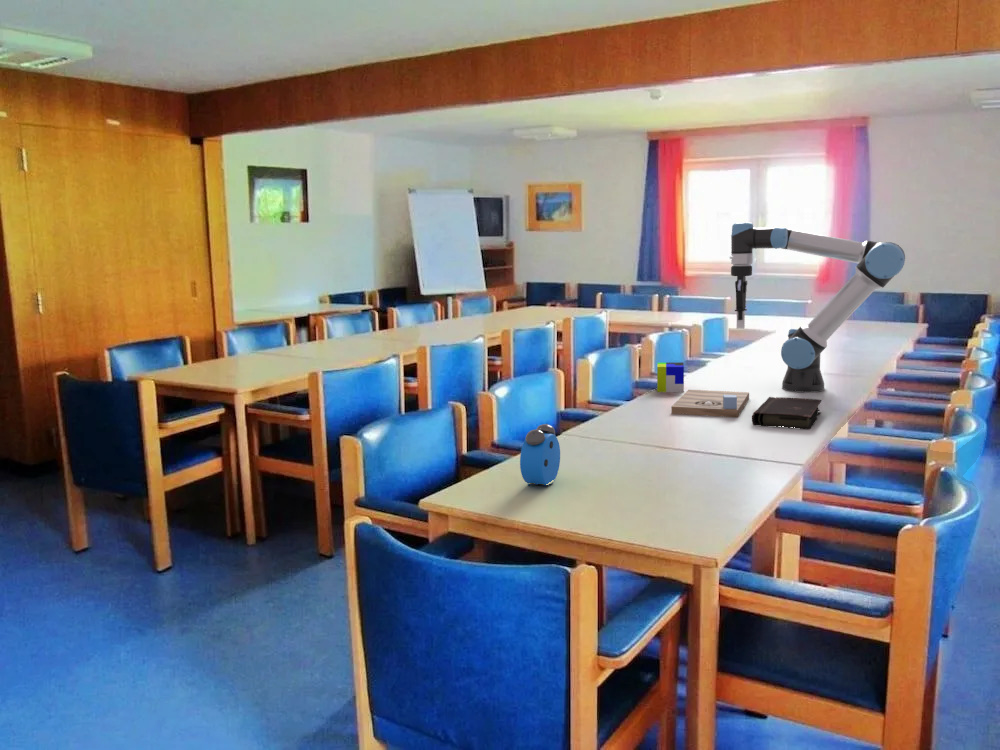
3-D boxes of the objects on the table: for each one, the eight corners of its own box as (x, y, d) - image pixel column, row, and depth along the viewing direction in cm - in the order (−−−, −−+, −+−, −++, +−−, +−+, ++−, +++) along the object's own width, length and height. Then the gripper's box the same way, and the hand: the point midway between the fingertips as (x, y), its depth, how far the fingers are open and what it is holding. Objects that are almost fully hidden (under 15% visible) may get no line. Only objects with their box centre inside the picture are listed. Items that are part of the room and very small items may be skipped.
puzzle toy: (683, 392, 315) (683, 366, 313) (657, 392, 317) (657, 366, 315) (683, 387, 325) (683, 362, 323) (657, 387, 327) (657, 362, 325)
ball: (714, 408, 281) (708, 414, 283) (715, 403, 283) (710, 408, 285) (706, 403, 281) (700, 408, 283) (708, 398, 283) (702, 403, 285)
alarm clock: (540, 475, 217) (538, 420, 214) (562, 477, 214) (560, 422, 211) (520, 490, 205) (518, 432, 202) (542, 493, 202) (541, 434, 200)
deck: (688, 396, 308) (688, 389, 307) (749, 399, 299) (749, 392, 298) (671, 413, 281) (671, 406, 280) (737, 417, 272) (737, 410, 272)
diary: (751, 426, 262) (751, 411, 261) (766, 410, 283) (766, 395, 282) (812, 431, 253) (813, 415, 252) (823, 414, 274) (824, 399, 273)
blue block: (735, 406, 277) (735, 394, 276) (736, 409, 273) (736, 397, 272) (722, 406, 278) (723, 394, 277) (724, 409, 274) (724, 397, 273)
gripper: (733, 264, 311) (732, 326, 315) (728, 266, 299) (727, 330, 303) (754, 264, 308) (753, 326, 312) (749, 265, 296) (748, 330, 300)
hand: (740, 328), depth 307 cm, fingers closed
